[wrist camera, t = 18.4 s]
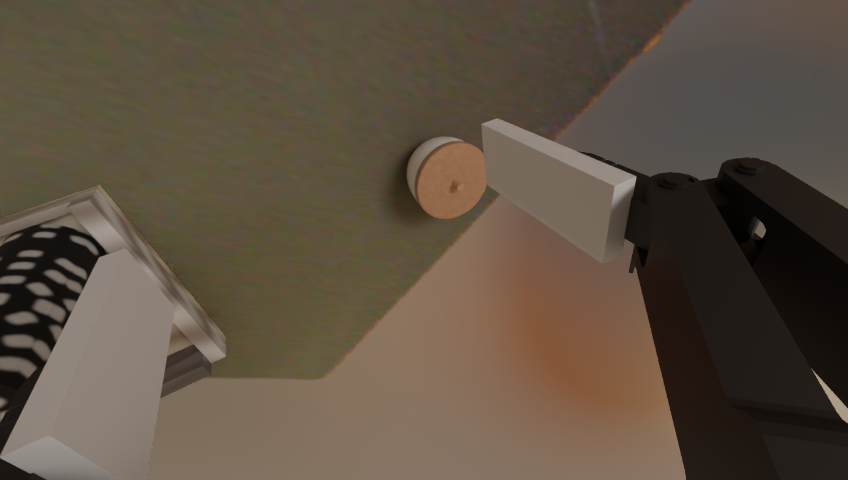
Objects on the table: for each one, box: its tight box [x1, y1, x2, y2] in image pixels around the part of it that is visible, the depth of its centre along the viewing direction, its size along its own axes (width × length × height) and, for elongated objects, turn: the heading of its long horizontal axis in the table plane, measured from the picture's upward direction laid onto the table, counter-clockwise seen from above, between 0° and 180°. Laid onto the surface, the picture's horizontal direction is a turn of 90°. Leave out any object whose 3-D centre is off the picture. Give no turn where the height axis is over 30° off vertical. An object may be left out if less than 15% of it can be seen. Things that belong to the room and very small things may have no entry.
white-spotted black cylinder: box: [0, 225, 106, 422], centre depth 32 cm, size 8×8×20 cm
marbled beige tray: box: [0, 185, 226, 398], centre depth 43 cm, size 26×14×6 cm, turn 12°
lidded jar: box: [407, 136, 487, 219], centre depth 51 cm, size 11×11×9 cm
